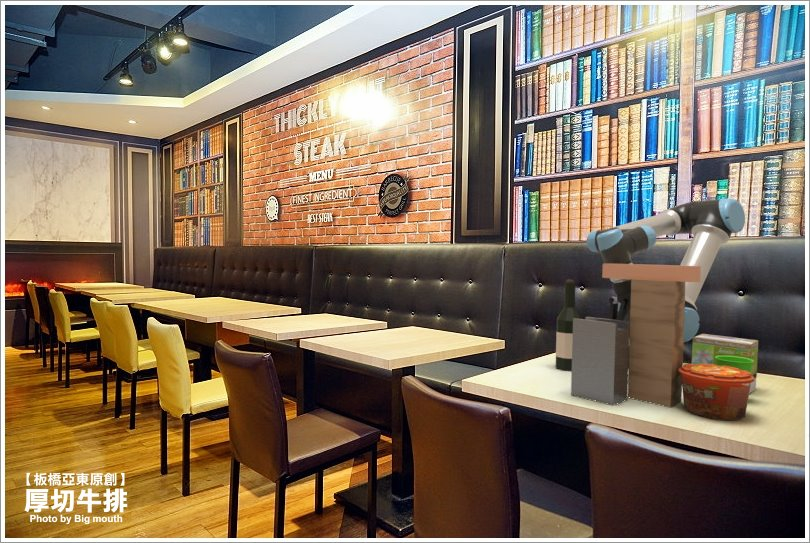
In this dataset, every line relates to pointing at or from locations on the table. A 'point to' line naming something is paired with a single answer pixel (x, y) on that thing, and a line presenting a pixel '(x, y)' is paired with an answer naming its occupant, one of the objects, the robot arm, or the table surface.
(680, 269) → the bar
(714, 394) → the food container
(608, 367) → the block
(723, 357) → the cup
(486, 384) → the table surface
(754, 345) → the tea box
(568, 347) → the wine bottle
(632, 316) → the post
